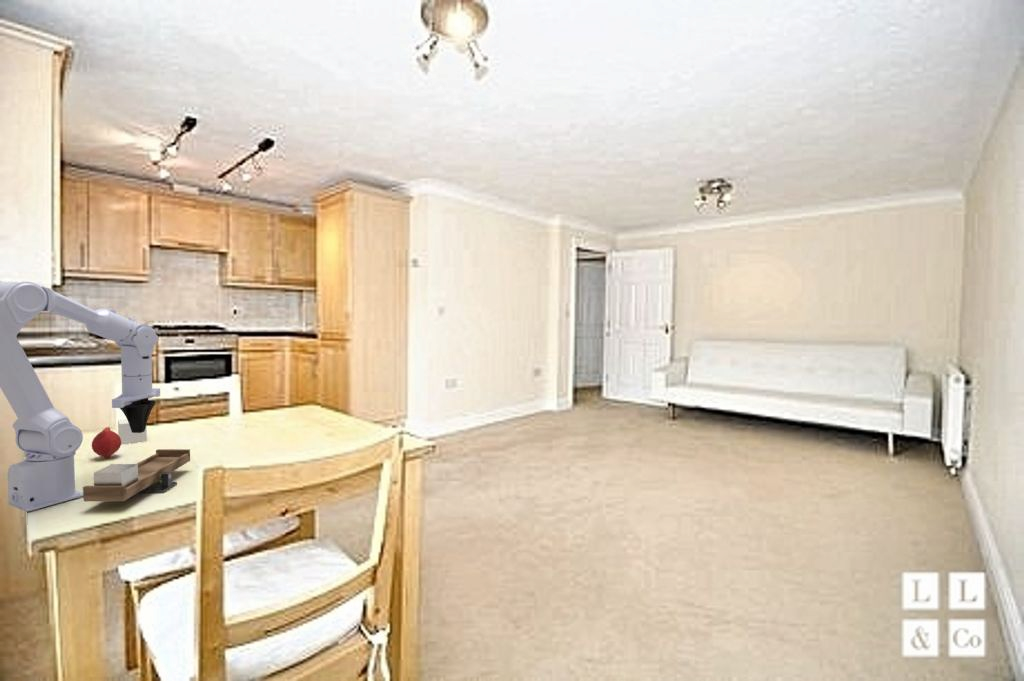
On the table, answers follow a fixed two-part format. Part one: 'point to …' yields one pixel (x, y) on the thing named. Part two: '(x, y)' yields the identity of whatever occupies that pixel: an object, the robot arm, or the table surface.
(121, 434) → the white cube
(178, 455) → the balance beam
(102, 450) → the onion
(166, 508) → the table surface
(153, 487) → the beam stand
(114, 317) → the robot arm
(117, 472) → the block
